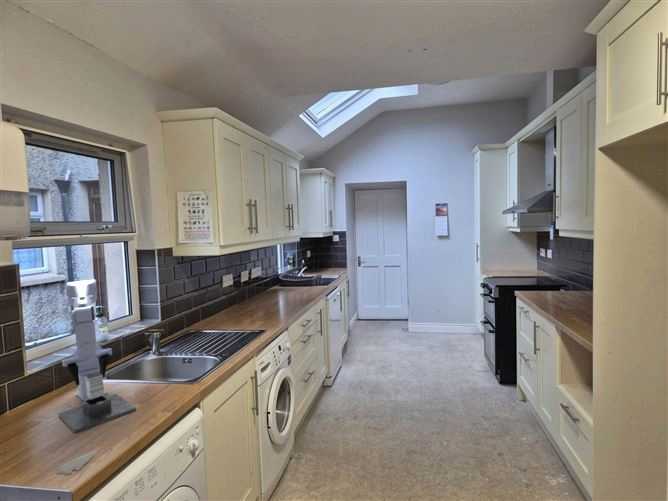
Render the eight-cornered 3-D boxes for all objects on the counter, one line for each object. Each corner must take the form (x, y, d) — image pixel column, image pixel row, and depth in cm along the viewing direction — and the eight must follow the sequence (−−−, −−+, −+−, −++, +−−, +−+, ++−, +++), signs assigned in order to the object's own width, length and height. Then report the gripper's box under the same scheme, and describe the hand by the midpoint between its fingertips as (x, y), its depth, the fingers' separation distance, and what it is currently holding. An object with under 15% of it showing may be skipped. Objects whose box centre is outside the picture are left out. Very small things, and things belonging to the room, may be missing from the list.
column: (86, 396, 132) (84, 375, 132) (100, 391, 135) (98, 371, 135) (91, 399, 130) (88, 377, 129) (104, 395, 133) (102, 373, 132)
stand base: (58, 416, 132) (57, 402, 132) (116, 396, 146) (115, 383, 145) (74, 433, 120) (73, 417, 120) (136, 410, 134) (134, 396, 133)
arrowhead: (50, 466, 101) (84, 448, 110) (50, 474, 101) (84, 455, 110) (71, 470, 99) (104, 451, 109) (71, 478, 99) (104, 458, 109)
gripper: (64, 349, 126) (69, 390, 127) (113, 338, 137) (117, 376, 138) (58, 345, 131) (63, 385, 132) (106, 335, 142) (110, 372, 142)
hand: (90, 380), depth 135 cm, fingers open, 7 cm apart
